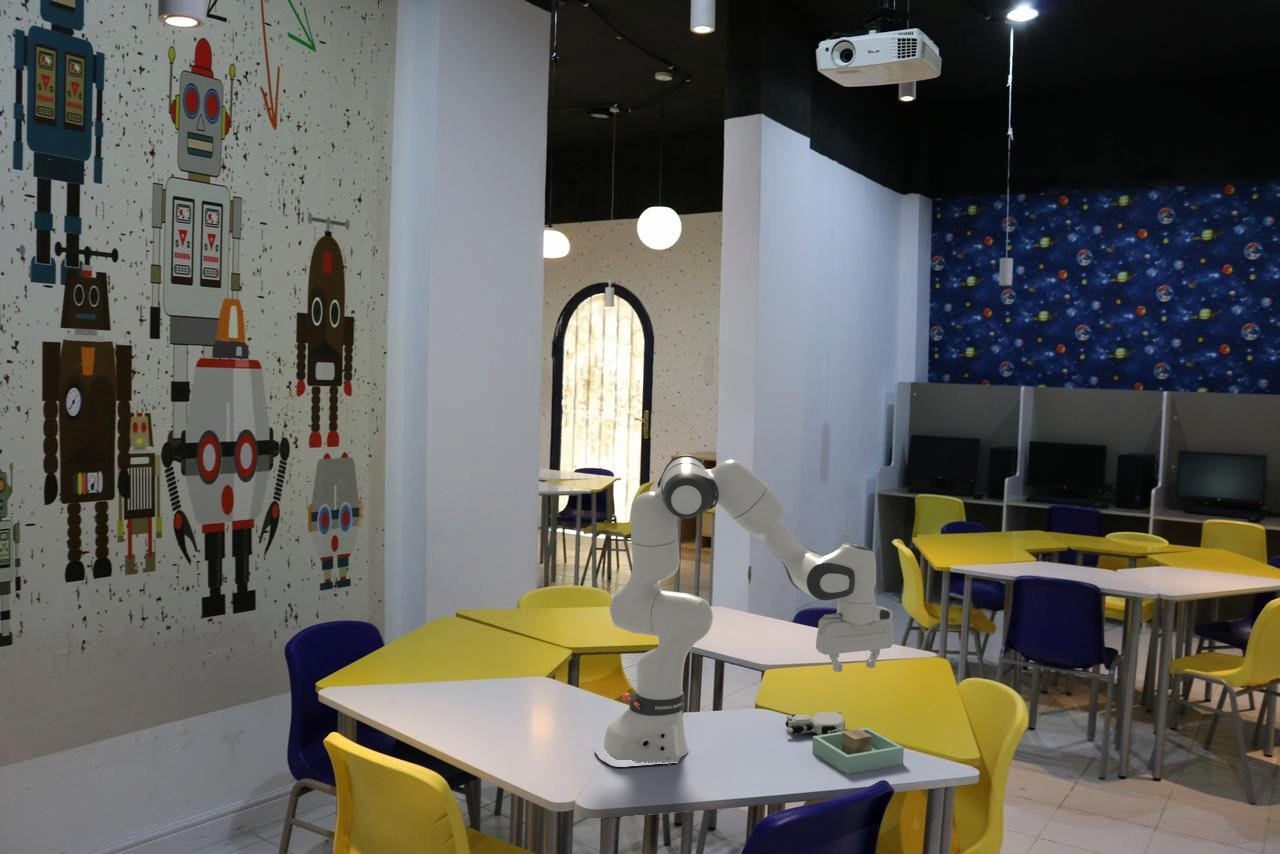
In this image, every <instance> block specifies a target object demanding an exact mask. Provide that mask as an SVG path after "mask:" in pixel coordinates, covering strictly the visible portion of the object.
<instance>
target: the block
mask: <svg viewBox="0 0 1280 854" xmlns="http://www.w3.org/2000/svg"><path fill="white" fill-rule="evenodd" d="M857 729H858V730H856V729H851V730H852V731H850V730H845V731H846V732H842V752H844V753H845V754H847V755H851V754H857V753H863V752H869V751H872V736H871V735H869V734H867V733H865V732H864V731H862V730H860V729H861V728H857Z"/></svg>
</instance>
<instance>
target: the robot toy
mask: <svg viewBox="0 0 1280 854" xmlns="http://www.w3.org/2000/svg"><path fill="white" fill-rule="evenodd" d="M842 713H843V711H837V712H836V711H820V712H817V713H816V714H814V716H811V715H810V714H795V713H794V714H792V715H791V714H790V715H787V716H786V722H785V727H786V729H785V732H786V733H788V734H793V735H796V734H797V735H803V734H810V733H811V732H812V731H813V732H814V733H816V735H817V736H819V735H825V734H831V733H837V732H844V731H846V730H845V729H846V719H845V718H844V716H843V715H842Z"/></svg>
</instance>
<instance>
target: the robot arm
mask: <svg viewBox="0 0 1280 854" xmlns="http://www.w3.org/2000/svg"><path fill="white" fill-rule="evenodd" d="M717 505H718V506H720V507H721V508H722V509H723V510H724V511H725V512H726V513H727V514H728V516H730V517H731V518H732V520H733V521H734V522H735V523H736V524H737V525H739V526H740V527H741V528H742V529H743V530H745V531H747V533H749V534H750V535H752V536H753V537H755V538H758V539H760V540H761V541H762V542H763V543H764V544H765V545H766V546H767V547H768V548H769V549H770V551H771V552H772V553H773V554H774V555H775V556H776V557H777V558H778V559H779V560H780V562H781V563H782V564H783V567H784V569H785V571H786V575H787V577H788V580H789V582H790V584H791V585H792V586H793V587H794V588H796V589H797V590H799V591H801V592H804V593H805V594H806V595H807V594H808V595H809V596H811V597H813V598H815V599H816V600H820V601H832V600H837V602H836V603H837V605H836V607H837V608H836V613H831V614H829V613H827V614H823V616H821V618H820V619H819V620H818V624H817V625H818V627H817V628H818V629H817V633H816V640H815V641H816V643H815V649H816V650H817V652H818V653H820V654H822V655H824V656H827V655H828V657H829V658H830V659H829V660H830V661H831V662H832V670H833V672H835V673H839V672H842V671H843V663H840V662H839V658H840V654H847V653H855V652H857V653H858V652H865V651H869V652H871V653H870V655H869V657H868V658H867V659H865V667H866V668H868V669H875V668H876V661H877V660H878V658H879V656H880V653H881V650H884V649H890V648H892V647H893V645H894V643H895V642H894V641H895V626H894V623H893V621H892V619H893V617H894V611H892V610H891V609H889V608H886V607H884V606H880V605H878V604H876V597H875V587H876V585H877V562H876V556H875V552H874V551H873V550H872V549H871V548H869V547H867V546H864V545H861V544H858V543H852V542H850V543H849V542H844V543H843V544H841V546H840V547H838V548H837V549H836V550H834V551H833V552H830V553H828V554H826V555H821V554H820V553H818V552H816V551H814V550H812V549H810V548H806V547H805V546H804V545H802V544H801V543H800V542H799V540H798V539H797V538H796V537H795V536H794V535H793V534H792V533H791V532H790V530H789V529H788V528H787V527H786V526H785V525H784V522H783V520H782V519H783V514H784V508H783V505H782V504H781V502H780V500H779V499H778V497H777V496H776V495H775V493H774V492H773V491H772V490H771V488H769V486H768V485H767V484H766V483H765V482H764V481H763V480H762V479H761V478H760V477H759V476H758V475H756V473H754V472H753V471H752V470H751V469H749V468H748V467H747V466H746V465H744V464H743V463H742V462H740V461H739V460H736V459H726V460H724V461H721V462H720V463H718V464H717V465H716V466H715V467H712V468H708V469H707V467H706V464H705V463H704V462H703V461H702V460H701V459H700V458H698V457H697V456H695V455H691V454H680V455H678V456H675V457H674V458H672V459H671V460H670V461H669V462H668V463H667V465H666V466H665V467H664V470H663V472H662V474H661V476H660V478H659V480H658V482H657V489H656V490H651V491H646V492H642V493H641V494H639V495H638V496H636V497H635V498H634V500H633V501H632V506H631V514H630V540H631V541H630V542H631V556H632V558H631V559H632V569H631V574H630V576H629V579H628V581H627V582H626V584H625V585H624V586H623V587H622V588H619V590H618V591H617V592H615V594H614V595H613V597H612V599H611V602H610V605H609V616H610V618H611V621H612V623H613V625H614V626H615V627H616V628H619V629H622V630H624V631H627V632H629V633H632V634H637V635H638V634H639V635H645V636H653V637H656V638H658V645H657V648H656V647H655V648H653V649H651V650H648V651H646V652H645V653H643V654H641V656H640V657H639V659H638V661H637V664H636V690H635V691H634V694H632V695H631V694H630V693H629V692H623V694H622V696H621V698H622V701H624V702H625V703H627V704H629V707H628V708H627V709H626V710H625V711H624V712H622V714H620V715H619V716H618V717H617V718H615V719H614V720H613V721H612V722H610V723H609V724H608V725H607V727H606V730H605V733H604V734H605V735H604V741H603V743H604V748H605V750H606V751H607V753H609V755H610V756H611V757H613V758H614V759H616V760H632V761H634V762H635V761H637V762H635V763H641V762H644V763H646V762H648V763H650V762H651V763H653V762H655V763H657V762H659V763H660V762H662V763H665V762H668V763H669V762H678V761H679V759H680V757H682V756H683V757H685V756H686V755H687V754H688V753H689V747H688V745H687V740H686V739H687V738H686V736H685V726H684V713H685V692H684V691H683V681H684V671H685V669H684V667H685V662H686V658H687V656H688V654H689V652H690V650H691V648H693V646H694V645H696V643H698V641H700V640H702V639H703V638H704V637H705V636H706V635H708V633H709V632H710V629H711V628H712V625H713V620H714V619H713V618H714V616H713V610H712V607H711V605H710V604H709V603H710V602H708V600H707V599H706V598H702V597H700V596H697V595H694V594H691V593H689V592H688V593H687V592H680V591H679V592H678V591H670V590H665V589H662V587H661V582H664V581H666V580H668V579H670V578H671V577H673V576H674V575H675V574H676V573H677V572H678V570H679V568H680V563H681V560H680V546H679V545H680V544H679V534H678V518H680V519H683V520H684V519H685V520H686V519H687V520H688V519H692V518H695V517H698V516H700V515H701V514H703V513H704V512H707V511H709V510H711V509H714V508H716V506H717ZM684 755H685V756H684ZM683 757H682V758H683ZM680 760H681V759H680ZM679 762H680V761H679Z"/></svg>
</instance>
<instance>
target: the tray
mask: <svg viewBox="0 0 1280 854" xmlns="http://www.w3.org/2000/svg"><path fill="white" fill-rule="evenodd" d="M858 729H860V730H862V731H864V732H865V733H867V734H869V735H871V736H872V751H869V752H863V753H857V754H851V755H847V754H845V753H844V752H842V732H837V733H831V734H825V735H813V736H812V754H813V755H815V756H817V757H819V758H820V759H822V760H823V759H824V761H825V762H826V763H828V764H830V765H831V766H833V767H834V768H836V769H837V770H839V771H840V772H842V773H844V774H846V775H850V774H855V773H861V772H867V771H873V770H879V769H884V768H889V767H896V766H902V765H904V751H905V749H904V748H905V747H903V746H902V745H900V744H898V743H896V742H894V741H892V740H891V739H889V738H887V737H885V736H883V735H881V734H880V733H878V732H876V731H874V730H873V729H871V728H869V727H864V728H857V729H855V730H858ZM852 730H853V729H851V730H849V731H852ZM846 731H847V730H844V732H846Z"/></svg>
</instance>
